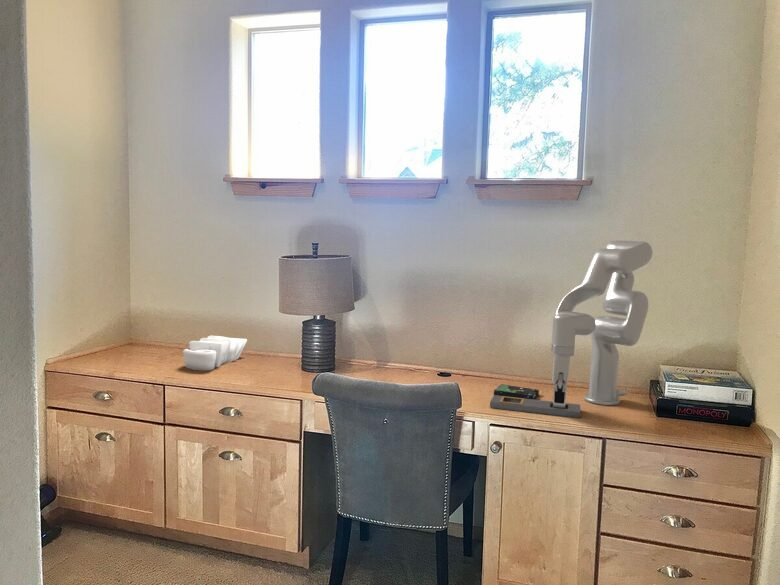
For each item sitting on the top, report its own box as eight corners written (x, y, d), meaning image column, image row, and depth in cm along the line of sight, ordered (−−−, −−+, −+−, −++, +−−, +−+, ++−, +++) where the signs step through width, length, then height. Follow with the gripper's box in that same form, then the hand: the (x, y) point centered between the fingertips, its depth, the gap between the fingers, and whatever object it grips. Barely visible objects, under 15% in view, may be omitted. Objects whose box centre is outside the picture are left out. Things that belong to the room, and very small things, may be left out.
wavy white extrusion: (219, 354, 286) (219, 332, 285) (251, 357, 282) (251, 335, 281) (172, 370, 253) (173, 344, 252) (208, 373, 248) (208, 348, 247)
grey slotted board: (580, 410, 214) (580, 404, 214) (580, 418, 205) (580, 411, 205) (493, 400, 223) (494, 394, 223) (489, 407, 214) (490, 401, 213)
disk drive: (538, 396, 233) (500, 390, 240) (539, 389, 233) (501, 383, 239) (532, 403, 224) (493, 396, 230) (533, 395, 224) (493, 389, 230)
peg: (564, 410, 213) (566, 382, 212) (564, 414, 209) (566, 385, 208) (553, 409, 214) (554, 381, 213) (552, 412, 210) (554, 383, 209)
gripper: (552, 345, 219) (549, 392, 220) (550, 353, 202) (547, 404, 204) (574, 347, 217) (571, 394, 218) (573, 356, 200) (570, 407, 202)
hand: (559, 399), depth 211 cm, fingers open, 9 cm apart
